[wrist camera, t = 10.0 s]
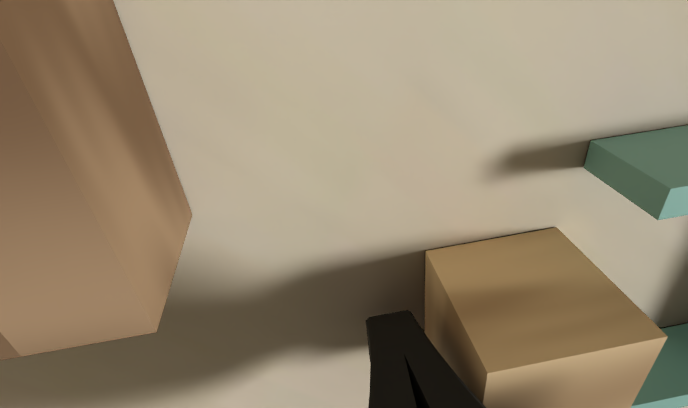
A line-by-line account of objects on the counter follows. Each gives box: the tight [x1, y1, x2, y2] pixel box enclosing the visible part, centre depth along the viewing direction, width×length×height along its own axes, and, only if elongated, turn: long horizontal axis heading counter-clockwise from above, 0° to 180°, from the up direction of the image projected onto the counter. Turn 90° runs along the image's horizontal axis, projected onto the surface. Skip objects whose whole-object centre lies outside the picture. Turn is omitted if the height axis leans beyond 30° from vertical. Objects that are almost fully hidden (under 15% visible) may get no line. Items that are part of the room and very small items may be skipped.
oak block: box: [425, 227, 668, 408], centre depth 11 cm, size 4×4×4 cm
